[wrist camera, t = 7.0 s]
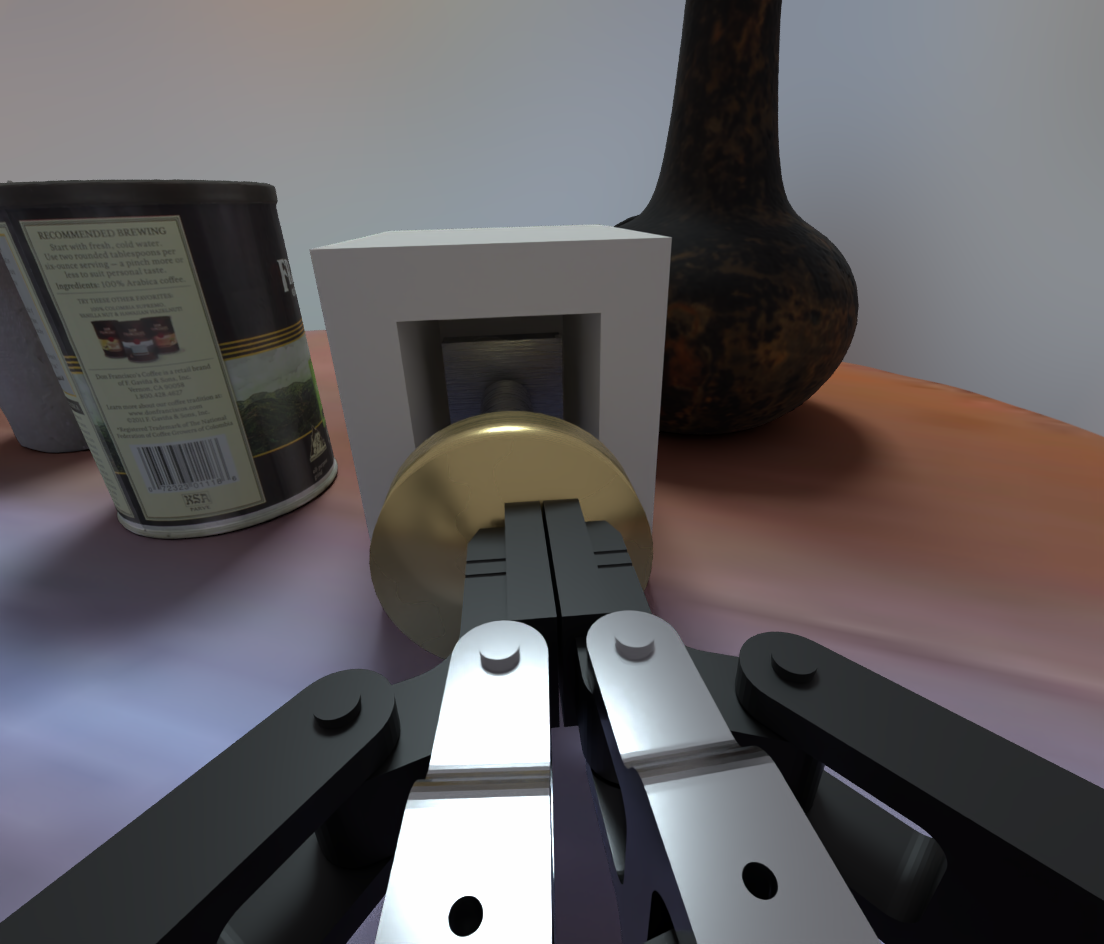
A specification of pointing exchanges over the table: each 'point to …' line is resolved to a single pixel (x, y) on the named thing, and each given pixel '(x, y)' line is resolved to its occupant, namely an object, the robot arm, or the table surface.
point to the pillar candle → (31, 380)
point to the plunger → (490, 480)
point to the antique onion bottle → (739, 238)
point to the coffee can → (174, 345)
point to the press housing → (495, 332)
